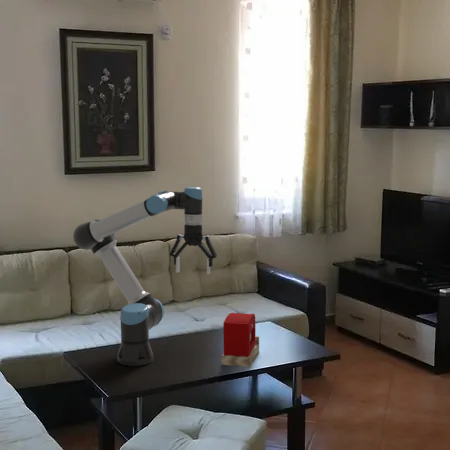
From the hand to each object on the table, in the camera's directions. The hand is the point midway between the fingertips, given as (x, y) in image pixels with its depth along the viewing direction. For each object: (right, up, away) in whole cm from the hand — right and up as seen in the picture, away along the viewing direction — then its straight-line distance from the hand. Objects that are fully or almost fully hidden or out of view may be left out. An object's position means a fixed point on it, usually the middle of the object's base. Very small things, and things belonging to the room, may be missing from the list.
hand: (193, 273), depth 294 cm
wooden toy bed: (+20, -36, +1) cm, 42 cm away
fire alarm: (+20, -33, -1) cm, 39 cm away
